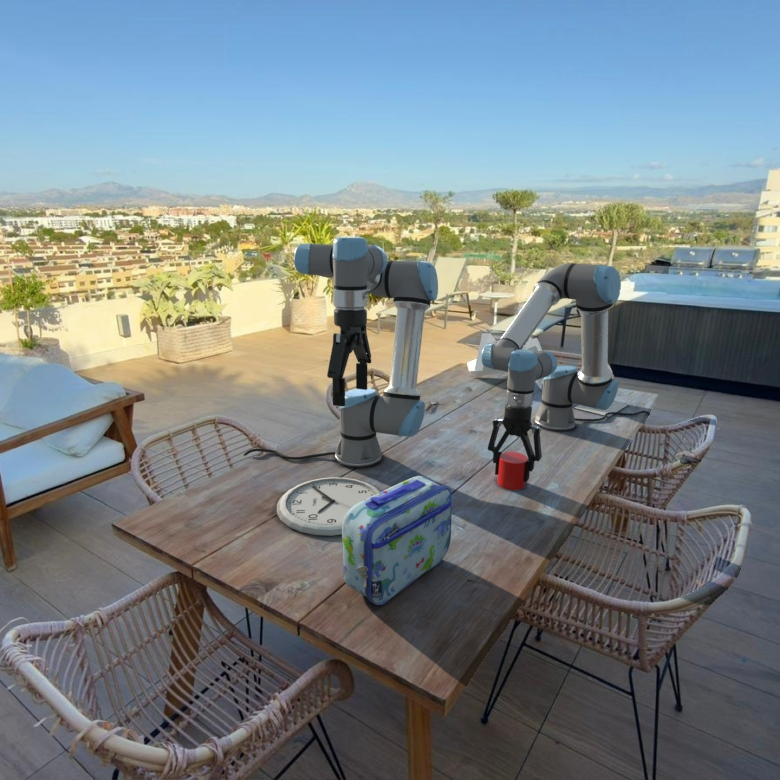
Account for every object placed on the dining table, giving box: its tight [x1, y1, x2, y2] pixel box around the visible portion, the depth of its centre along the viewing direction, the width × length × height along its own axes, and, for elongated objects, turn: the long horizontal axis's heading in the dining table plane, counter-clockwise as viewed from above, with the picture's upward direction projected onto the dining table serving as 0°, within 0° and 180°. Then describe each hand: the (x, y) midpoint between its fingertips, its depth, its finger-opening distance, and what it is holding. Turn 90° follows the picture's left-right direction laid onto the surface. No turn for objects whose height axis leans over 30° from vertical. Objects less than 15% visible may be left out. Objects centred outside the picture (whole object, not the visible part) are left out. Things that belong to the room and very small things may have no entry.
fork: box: [425, 396, 439, 412], centre depth 222 cm, size 3×16×2 cm, turn 160°
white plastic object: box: [466, 306, 543, 390], centre depth 259 cm, size 37×45×31 cm
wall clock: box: [276, 476, 382, 537], centre depth 142 cm, size 30×2×30 cm
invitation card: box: [573, 400, 629, 418], centre depth 226 cm, size 21×1×15 cm
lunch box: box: [341, 475, 453, 606], centre depth 111 cm, size 26×11×21 cm, turn 134°
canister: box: [496, 451, 528, 491], centre depth 155 cm, size 8×8×9 cm
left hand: (350, 396), depth 125 cm, fingers open, 13 cm apart
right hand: (511, 476), depth 156 cm, fingers closed on canister, 8 cm apart
